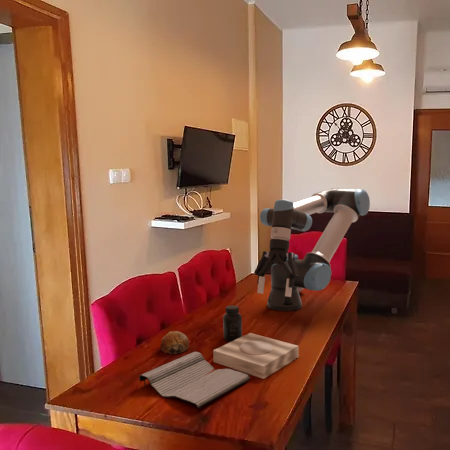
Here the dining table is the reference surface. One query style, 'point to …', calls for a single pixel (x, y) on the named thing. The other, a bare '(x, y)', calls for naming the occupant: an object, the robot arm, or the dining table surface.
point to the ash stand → (256, 355)
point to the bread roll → (174, 343)
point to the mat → (193, 379)
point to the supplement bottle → (232, 323)
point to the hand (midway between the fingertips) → (273, 295)
